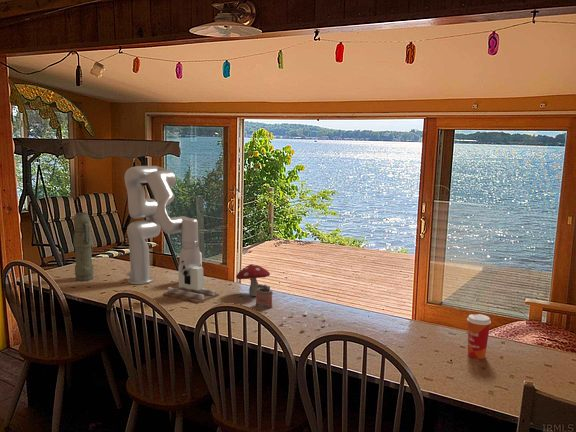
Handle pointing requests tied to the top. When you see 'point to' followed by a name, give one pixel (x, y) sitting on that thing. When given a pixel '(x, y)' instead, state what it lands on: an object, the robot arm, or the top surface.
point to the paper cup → (478, 335)
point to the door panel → (193, 279)
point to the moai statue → (83, 247)
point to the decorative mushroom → (252, 276)
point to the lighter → (264, 296)
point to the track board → (191, 294)
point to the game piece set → (304, 324)
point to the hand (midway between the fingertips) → (190, 282)
